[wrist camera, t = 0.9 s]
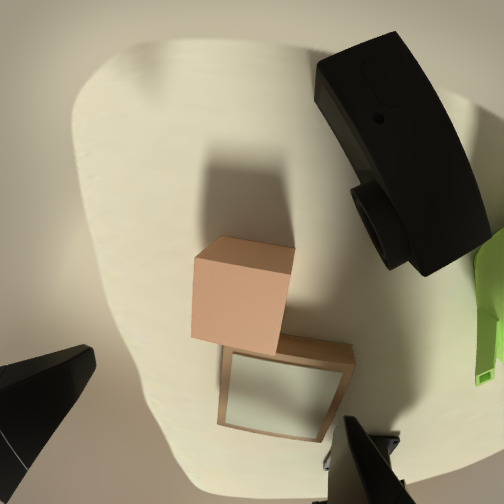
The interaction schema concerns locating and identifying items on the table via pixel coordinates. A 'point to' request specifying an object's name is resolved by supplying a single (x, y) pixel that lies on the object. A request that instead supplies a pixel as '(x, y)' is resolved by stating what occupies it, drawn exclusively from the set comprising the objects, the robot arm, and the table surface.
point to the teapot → (489, 306)
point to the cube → (241, 293)
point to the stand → (285, 388)
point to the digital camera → (401, 155)
